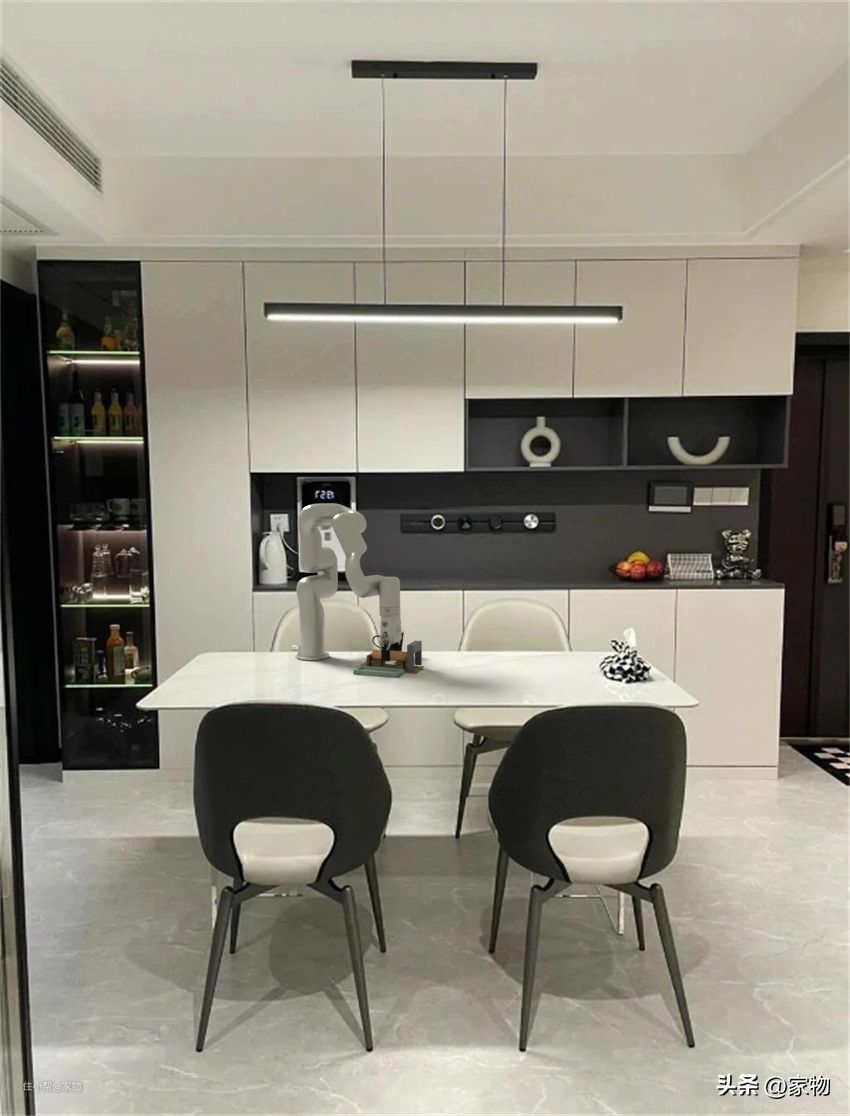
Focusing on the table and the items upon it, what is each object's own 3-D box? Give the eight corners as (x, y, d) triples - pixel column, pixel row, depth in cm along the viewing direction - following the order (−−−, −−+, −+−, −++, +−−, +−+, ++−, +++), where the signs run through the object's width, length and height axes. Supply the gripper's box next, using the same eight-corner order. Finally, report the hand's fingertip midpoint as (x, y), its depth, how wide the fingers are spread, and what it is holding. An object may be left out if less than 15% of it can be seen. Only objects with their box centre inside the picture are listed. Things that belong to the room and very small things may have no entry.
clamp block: (357, 669, 284) (356, 655, 283) (365, 664, 291) (364, 651, 290) (416, 673, 276) (416, 659, 276) (423, 669, 283) (423, 655, 283)
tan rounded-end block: (371, 660, 284) (371, 650, 283) (375, 658, 287) (375, 648, 287) (405, 662, 279) (405, 652, 279) (408, 660, 283) (408, 650, 282)
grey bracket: (407, 669, 277) (407, 645, 276) (415, 664, 285) (415, 640, 284) (413, 670, 276) (413, 645, 275) (421, 665, 284) (421, 640, 283)
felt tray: (353, 674, 276) (353, 669, 276) (360, 670, 282) (360, 665, 282) (398, 677, 270) (398, 673, 270) (405, 673, 277) (405, 669, 276)
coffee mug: (406, 655, 307) (406, 630, 306) (400, 659, 299) (400, 634, 298) (378, 653, 310) (378, 628, 309) (371, 658, 302) (371, 632, 301)
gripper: (390, 615, 272) (391, 663, 274) (408, 608, 288) (408, 653, 290) (370, 614, 275) (371, 662, 276) (389, 607, 291) (389, 652, 292)
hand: (390, 658), depth 283 cm, fingers open, 9 cm apart
